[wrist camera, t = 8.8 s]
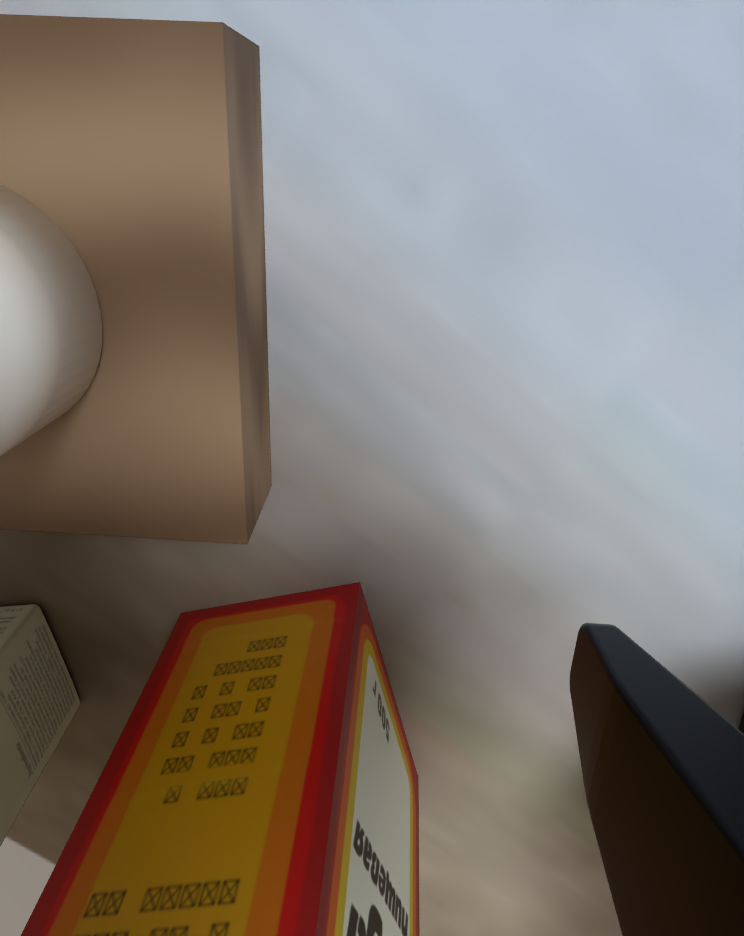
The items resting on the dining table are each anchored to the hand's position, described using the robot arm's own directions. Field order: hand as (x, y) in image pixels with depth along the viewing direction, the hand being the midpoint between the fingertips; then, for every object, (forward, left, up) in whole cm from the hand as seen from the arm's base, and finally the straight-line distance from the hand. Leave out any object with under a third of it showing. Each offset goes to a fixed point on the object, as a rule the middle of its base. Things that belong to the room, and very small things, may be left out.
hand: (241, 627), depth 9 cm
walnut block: (+2, +8, -12) cm, 15 cm away
